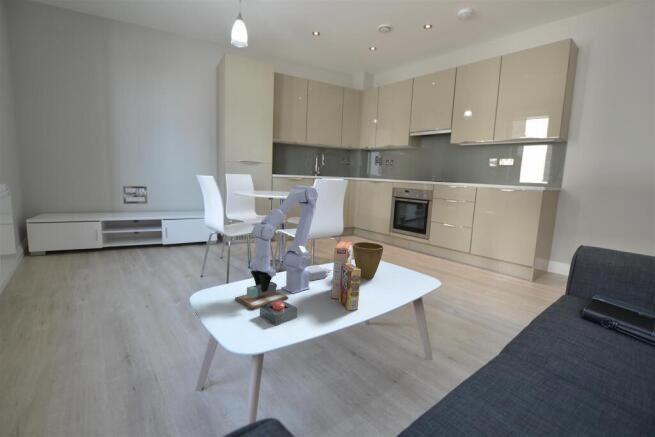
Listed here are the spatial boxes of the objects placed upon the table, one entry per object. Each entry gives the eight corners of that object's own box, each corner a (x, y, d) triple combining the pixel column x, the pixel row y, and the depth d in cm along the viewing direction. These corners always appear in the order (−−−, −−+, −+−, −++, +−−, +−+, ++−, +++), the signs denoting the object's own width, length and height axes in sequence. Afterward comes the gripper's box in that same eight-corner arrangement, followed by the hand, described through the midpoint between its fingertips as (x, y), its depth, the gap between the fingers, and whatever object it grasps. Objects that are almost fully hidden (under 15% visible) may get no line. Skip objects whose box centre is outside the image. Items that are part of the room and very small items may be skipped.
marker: (273, 288, 125) (273, 280, 125) (278, 290, 123) (278, 283, 123) (246, 295, 117) (246, 287, 116) (251, 298, 115) (251, 289, 114)
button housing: (281, 309, 112) (281, 299, 112) (297, 317, 106) (297, 307, 106) (259, 316, 106) (259, 306, 106) (275, 325, 100) (275, 315, 99)
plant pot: (348, 279, 149) (349, 246, 146) (354, 270, 163) (356, 240, 161) (379, 283, 144) (381, 250, 142) (383, 274, 158) (385, 243, 156)
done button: (279, 307, 109) (279, 300, 108) (286, 310, 106) (287, 304, 106) (270, 310, 106) (270, 303, 105) (277, 314, 103) (277, 307, 103)
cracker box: (346, 300, 123) (349, 248, 120) (331, 298, 124) (333, 247, 121) (350, 288, 136) (353, 241, 134) (337, 287, 138) (339, 240, 135)
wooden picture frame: (270, 290, 130) (270, 287, 130) (288, 299, 122) (288, 296, 121) (234, 300, 118) (234, 296, 118) (252, 310, 110) (252, 306, 110)
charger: (335, 276, 152) (310, 282, 143) (324, 271, 160) (299, 276, 151) (336, 267, 152) (310, 272, 143) (325, 262, 159) (299, 266, 150)
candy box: (359, 309, 115) (361, 269, 113) (348, 310, 113) (350, 270, 111) (348, 300, 123) (350, 262, 121) (338, 301, 122) (340, 263, 120)
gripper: (243, 252, 120) (242, 286, 122) (264, 261, 110) (263, 298, 112) (258, 250, 125) (258, 283, 127) (280, 258, 115) (279, 293, 117)
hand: (261, 289), depth 120 cm, fingers closed on marker, 3 cm apart
